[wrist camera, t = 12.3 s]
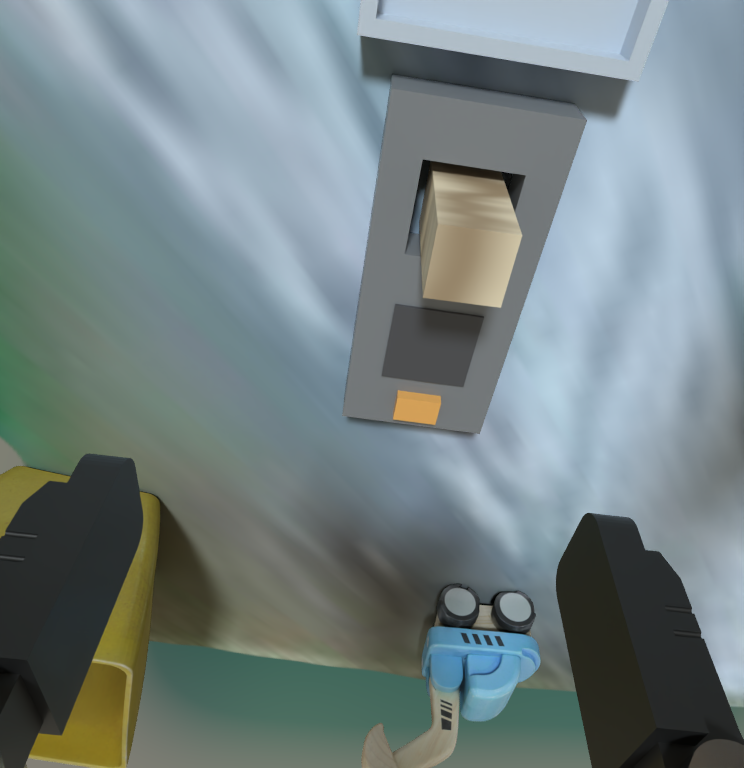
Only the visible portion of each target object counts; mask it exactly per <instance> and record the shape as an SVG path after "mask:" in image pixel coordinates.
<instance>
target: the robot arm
mask: <svg viewBox="0 0 744 768" xmlns="http://www.w3.org/2000/svg"><path fill="white" fill-rule="evenodd" d="M142 529H143V509H142V503H141V497H140V491H139V485H138V480H137V474H136V468H135V463H134V461H133V460H132V459H131V458H123V457H114V456H106V455H97V454H86V455H84V456H83V457H82V458H81V460H80V461H79V463H78V465H77V466H76V468H75V470H74V472H73V473H72V475H71V477H70V479H69V480H68V482H67V483H65V482H57V481H48V482H47V483H46V484H45V485H43V486H42V487H41V488H40V489H39V490H37V491H36V492H35V493H34V494H33V495H31V496H30V497H29V498H28V499H26V500H25V501H24V502H23V503H22V504H21V506H20V507H19V509H18V511H17V512H16V514H15V515H14V517H13V519H12V520H11V522H10V524H9V525H8V527H7V528H6V530H5V535H4V536H1V538H0V768H27V765H26V761H27V759H28V757H29V754H30V752H31V750H32V747H33V745H34V743H35V740H36V738H37V736H38V733H40V734H50V735H61V736H62V734H63V732H64V729H65V727H66V724H67V722H68V719H69V717H70V714H71V712H72V709H73V707H74V704H75V702H76V699H77V697H78V694H79V692H80V690H81V687H82V685H83V682H84V680H85V677H86V675H87V672H88V670H89V667H90V665H91V662H92V660H93V657H94V655H95V652H96V650H97V648H98V645H99V643H100V640H101V638H102V635H103V633H104V630H105V628H106V625H107V623H108V620H109V618H110V615H111V613H112V610H113V608H114V606H115V603H116V601H117V598H118V596H119V593H120V591H121V588H122V586H123V583H124V581H125V578H126V576H127V573H128V571H129V568H130V566H131V564H132V561H133V559H134V556H135V554H136V551H137V549H138V546H139V543H140V539H141V535H142ZM556 592H557V599H558V604H559V609H560V613H561V618H562V623H563V628H564V633H565V638H566V643H567V648H568V652H569V657H570V662H571V667H572V672H573V677H574V682H575V687H576V691H577V696H578V701H579V706H580V711H581V716H582V720H583V726H584V730H585V735H586V740H587V745H588V750H589V755H590V760H591V765H592V768H744V739H743V738H742V735H741V733H740V731H739V729H738V726H737V724H736V721H735V718H734V716H733V713H732V711H731V708H730V705H729V703H728V700H727V698H726V695H725V692H724V690H723V687H722V685H721V682H720V679H719V677H718V674H717V672H716V669H715V667H714V664H713V661H712V659H711V656H710V654H709V651H708V648H707V646H706V643H705V641H704V639H702V638H701V630H700V628H699V625H698V622H697V620H696V617H695V615H694V614H692V612H691V609H692V607H691V604H690V602H689V599H688V597H687V594H686V591H685V589H684V586H683V584H682V581H681V579H680V577H679V576H678V575H677V574H676V572H675V571H674V570H673V569H672V567H671V566H670V565H669V564H668V562H667V561H666V560H665V558H664V557H663V556H662V555H661V553H660V552H657V551H648V550H645V548H644V545H643V543H642V540H641V537H640V534H639V531H638V528H637V526H636V524H635V522H634V521H633V520H632V519H631V518H628V517H619V516H610V515H602V514H593V513H587V514H585V515H584V516H583V518H582V519H581V521H580V523H579V525H578V527H577V529H576V531H575V533H574V535H573V537H572V539H571V540H570V542H569V544H568V546H567V548H566V550H565V552H564V554H563V556H562V558H561V560H560V562H559V565H558V569H557V575H556Z"/></svg>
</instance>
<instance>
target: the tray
mask: <svg viewBox="0 0 744 768" xmlns="http://www.w3.org/2000/svg"><path fill="white" fill-rule="evenodd" d="M668 2H669V0H361V3H360V12H359V21H358V30H357V35H361V36H367V37H373V38H379V39H385V40H391V41H397V42H403V43H409V44H415V45H421V46H427V47H433V48H439V49H445V50H451V51H457V52H463V53H469V54H475V55H481V56H487V57H493V58H499V59H505V60H511V61H517V62H523V63H529V64H535V65H541V66H547V67H553V68H559V69H565V70H571V71H577V72H583V73H589V74H595V75H601V76H607V77H613V78H619V79H625V80H631V81H637V82H638V81H639V79H640V76H641V73H642V71H643V68H644V66H645V63H646V60H647V58H648V55H649V52H650V50H651V47H652V44H653V42H654V39H655V36H656V34H657V31H658V29H659V26H660V23H661V21H662V18H663V15H664V13H665V10H666V7H667V5H668Z"/></svg>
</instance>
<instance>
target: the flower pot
mask: <svg viewBox="0 0 744 768" xmlns="http://www.w3.org/2000/svg"><path fill="white" fill-rule="evenodd" d="M70 477H71V476H66V475H61V474H56V473H52V472H47V471H42V470H38V469H33V468H29V467H25V466H16V467H13V468H12V469H10V470H8V471H7V472H5V473H3V474H1V475H0V538H1V536H4V535H5V530H6V528H7V527H8V525H9V524H10V522H11V520H12V519H13V517H14V515H15V514H16V512H17V511H18V509H19V507H20V506H21V504H22V503H23V502H24V501H25V500H26V499H28V498H29V497H30V496H31V495H33V494H34V493H35V492H36V491H37V490H39V489H40V488H41V487H42V486H43V485H45V484H46V483H47V482H48V481H57V482H65V483H67V482H68V480H69V479H70ZM140 497H141V503H142V509H143V529H142V535H141V539H140V543H139V546H138V549H137V551H136V554H135V556H134V559H133V561H132V564H131V566H130V568H129V571H128V573H127V576H126V578H125V581H124V583H123V586H122V588H121V591H120V593H119V596H118V598H117V601H116V603H115V606H114V608H113V610H112V613H111V615H110V618H109V620H108V623H107V625H106V628H105V630H104V633H103V635H102V638H101V640H100V643H99V645H98V648H97V650H96V652H95V655H94V657H93V660H92V662H91V665H90V667H89V670H88V672H87V675H86V677H85V680H84V682H83V685H82V687H81V690H80V692H79V694H78V697H77V699H76V702H75V704H74V707H73V709H72V712H71V714H70V717H69V719H68V722H67V724H66V727H65V729H64V732H63V734H62V736H61V735H50V734H40V733H38V736H37V738H36V740H35V743H34V745H33V747H32V750H31V752H30V754H29V757H28V758H32V759H38V760H45V761H51V762H58V763H64V764H70V765H77V766H84V767H90V768H126V767H127V764H128V759H129V755H130V751H131V746H132V742H133V736H134V731H135V726H136V721H137V716H138V710H139V704H140V699H141V693H142V687H143V680H144V674H145V667H146V660H147V652H148V644H149V634H150V624H151V612H152V599H153V585H154V577H155V569H156V562H157V554H158V543H159V530H160V502H159V500H158V499H157V498H156V497H155V496H153V495H151V494H149V493H144V492H140Z"/></svg>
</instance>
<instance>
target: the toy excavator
mask: <svg viewBox="0 0 744 768" xmlns="http://www.w3.org/2000/svg"><path fill="white" fill-rule="evenodd" d="M459 586H461V584H454V585H449V586H448V587H446V588H445V589H444V590H443V591H442V593H441V595H440V598H439V602H438V606H437V611H438V613H437V617H436V621H435V624H434V625H433V626H432V627H431V628H430V629H429V631H428V634H427V638H426V642H425V645H424V649H423V653H422V675H423V676H424V677H426V688H427V693H428V695H429V696H430V700H431V714H432V726H431V727H430V729H429V730H427V731H426V732H424V733H423V734H421V735H420V736H418V737H417V738H415V739H414V740H412V741H411V742H409V743H408V744H406V745H404V746H403V747H401V748H399V749H397V750H396V751H394V752H393V753H392V752H391V749H390V747H389V744H388V742H387V739H386V737H385V734H384V731H383V730H384V727H383V724H382V723H379V724H377V725H375V726H374V727H373V728H372V729H371V730H370V731H369V732H368V734H367V736H366V738H365V741H364V746H363V752H362V768H431V767H433V766H435V765H437V764H439V763H440V762H442V761H444V760H445V759H446V758H448V757H449V756H450V755H451V754H452V752H453V750H454V748H455V745H456V740H457V733H458V718H459V693H460V712H461V715H462V716H463V717H464V718H465V719H467V720H469V721H487V720H490V719H492V718H494V717H496V716H497V715H498V714H499V713H500V712H501V711H502V710H503V709H504V708H505V706H506V704H507V702H508V700H509V699H510V697H511V694H512V693H513V691H514V689H515V687H516V685H517V683H519V682H522V681H524V680H526V679H528V678H529V677H530V676H532V675H533V673H534V672H536V671H537V669H538V668H539V666H540V662H541V661H540V653H539V647H538V644H537V642H536V640H535V639H533V638H532V637H531V632H530V629H531V627H532V624H533V622H534V619H535V616H536V614H535V613H534V605H533V602H532V601H531V599H530V598H529V597H528V596H527V595H525V594H523V593H522V592H520V591H516V592H514V593H512V592H502V593H500V594H498V596H497V597H496V599H495V601H494V604H493V606H487V605H479V603H480V600H479V598H478V596H477V594H476V593H475V592H474V591H473V590H472V589H470V588H468V590H466V589H463V588H460V587H459Z"/></svg>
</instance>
